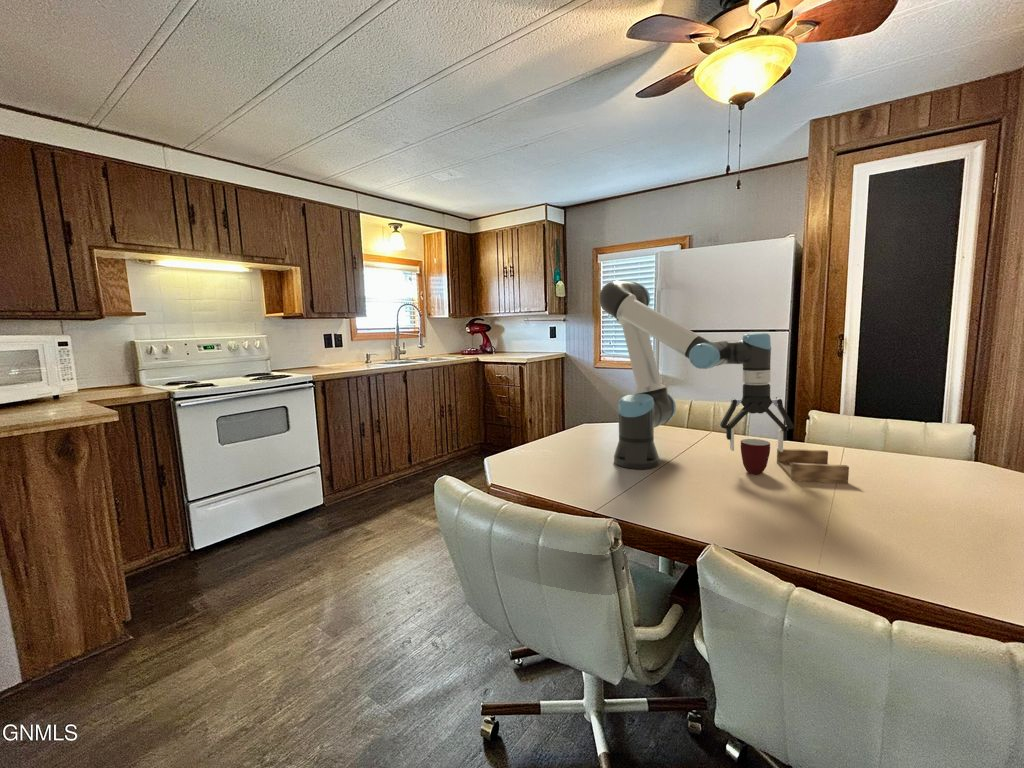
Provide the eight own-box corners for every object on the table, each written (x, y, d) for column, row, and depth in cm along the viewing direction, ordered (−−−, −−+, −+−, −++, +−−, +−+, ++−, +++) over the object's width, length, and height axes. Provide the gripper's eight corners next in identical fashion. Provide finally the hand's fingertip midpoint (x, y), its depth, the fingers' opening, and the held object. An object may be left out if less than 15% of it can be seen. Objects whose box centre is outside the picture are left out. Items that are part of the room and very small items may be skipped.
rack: (792, 480, 130) (793, 464, 129) (776, 463, 146) (777, 448, 146) (848, 483, 126) (849, 466, 125) (825, 465, 142) (826, 450, 141)
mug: (736, 465, 145) (737, 436, 144) (764, 467, 143) (765, 437, 141) (742, 476, 135) (743, 444, 134) (772, 478, 133) (773, 446, 131)
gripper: (714, 385, 136) (714, 452, 138) (807, 384, 128) (805, 454, 130) (710, 382, 143) (711, 446, 145) (798, 381, 135) (797, 448, 137)
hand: (755, 450), depth 138 cm, fingers open, 13 cm apart
